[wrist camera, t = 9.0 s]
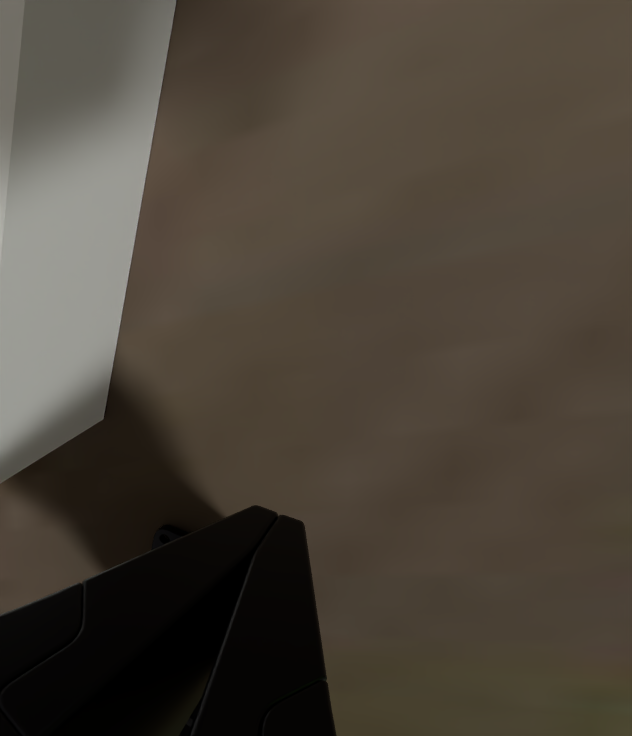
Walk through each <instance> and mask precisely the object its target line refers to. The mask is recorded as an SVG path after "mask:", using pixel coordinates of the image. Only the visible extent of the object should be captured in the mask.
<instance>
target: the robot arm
mask: <svg viewBox="0 0 632 736" xmlns="http://www.w3.org/2000/svg"><path fill="white" fill-rule="evenodd" d="M164 534H165V535H167V536H168V537H169V539H167V538H166V537H165V536H164ZM326 680H327V677H326V670H325V663H324V656H323V649H322V642H321V635H320V628H319V622H318V615H317V608H316V601H315V594H314V587H313V580H312V573H311V566H310V560H309V553H308V546H307V539H306V532H305V526H304V523H303V522H302V521H300V520H297V519H294V518H291V517H288V516H286V515H280V516H279V517H278V514H277V513H276V512H274V511H272V510H269V509H266V508H263V507H261V506H258V505H254V506H251V507H249V508H247V509H244V510H242V511H240V512H237V513H235V514H233V515H231V516H228V517H226V518H224V519H222V520H219V521H217V522H215V523H212V524H210V525H208V526H206V527H203V528H201V529H199V530H197V531H194V532H192V533H188V532H185V531H183V530H180V529H178V528H176V527H173V526H171V525H163V526H161V527H160V528H159V529H158V530H157V532H156V533H155V536H154V540H153V544H152V549H151V551H149V552H147V553H144V554H142V555H140V556H138V557H135V558H133V559H131V560H129V561H126V562H124V563H122V564H119V565H117V566H115V567H113V568H110V569H108V570H106V571H104V572H101V573H99V574H97V575H95V576H92V577H90V578H88V579H85V580H84V581H83V582H82V584H81V583H76V584H74V585H71V586H69V587H67V588H64V589H62V590H60V591H58V592H55V593H53V594H51V595H48V596H46V597H43V598H41V599H38V600H36V601H34V602H31V603H29V604H26V605H24V606H21V607H19V608H17V609H14V610H11V611H8V612H6V613H3V614H0V736H336V731H335V725H334V720H333V714H332V709H331V702H330V695H329V689H328V683H327V682H326Z"/></svg>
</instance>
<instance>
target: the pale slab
mask: <svg viewBox="0 0 632 736" xmlns="http://www.w3.org/2000/svg"><path fill="white" fill-rule="evenodd" d="M176 1H177V0H0V483H2V482H3V481H5V480H7V479H8V478H10V477H11V476H13V475H15V474H16V473H18V472H20V471H21V470H23V469H24V468H26V467H28V466H29V465H31V464H32V463H34V462H36V461H37V460H39V459H40V458H42V457H44V456H45V455H47V454H48V453H50V452H52V451H53V450H55V449H57V448H58V447H60V446H61V445H63V444H65V443H66V442H68V441H69V440H71V439H73V438H74V437H76V436H77V435H79V434H81V433H82V432H84V431H86V430H87V429H89V428H90V427H92V426H94V425H95V424H97V423H98V422H100V421H102V420H103V419H104V413H105V408H106V402H107V396H108V390H109V385H110V379H111V373H112V367H113V362H114V356H115V350H116V345H117V339H118V333H119V327H120V322H121V316H122V310H123V304H124V299H125V293H126V287H127V282H128V276H129V270H130V264H131V259H132V253H133V247H134V242H135V236H136V230H137V224H138V219H139V213H140V207H141V201H142V196H143V190H144V184H145V179H146V173H147V167H148V161H149V156H150V150H151V144H152V138H153V133H154V127H155V121H156V116H157V110H158V104H159V98H160V93H161V87H162V81H163V75H164V70H165V64H166V58H167V53H168V47H169V41H170V35H171V30H172V24H173V18H174V13H175V7H176Z"/></svg>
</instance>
